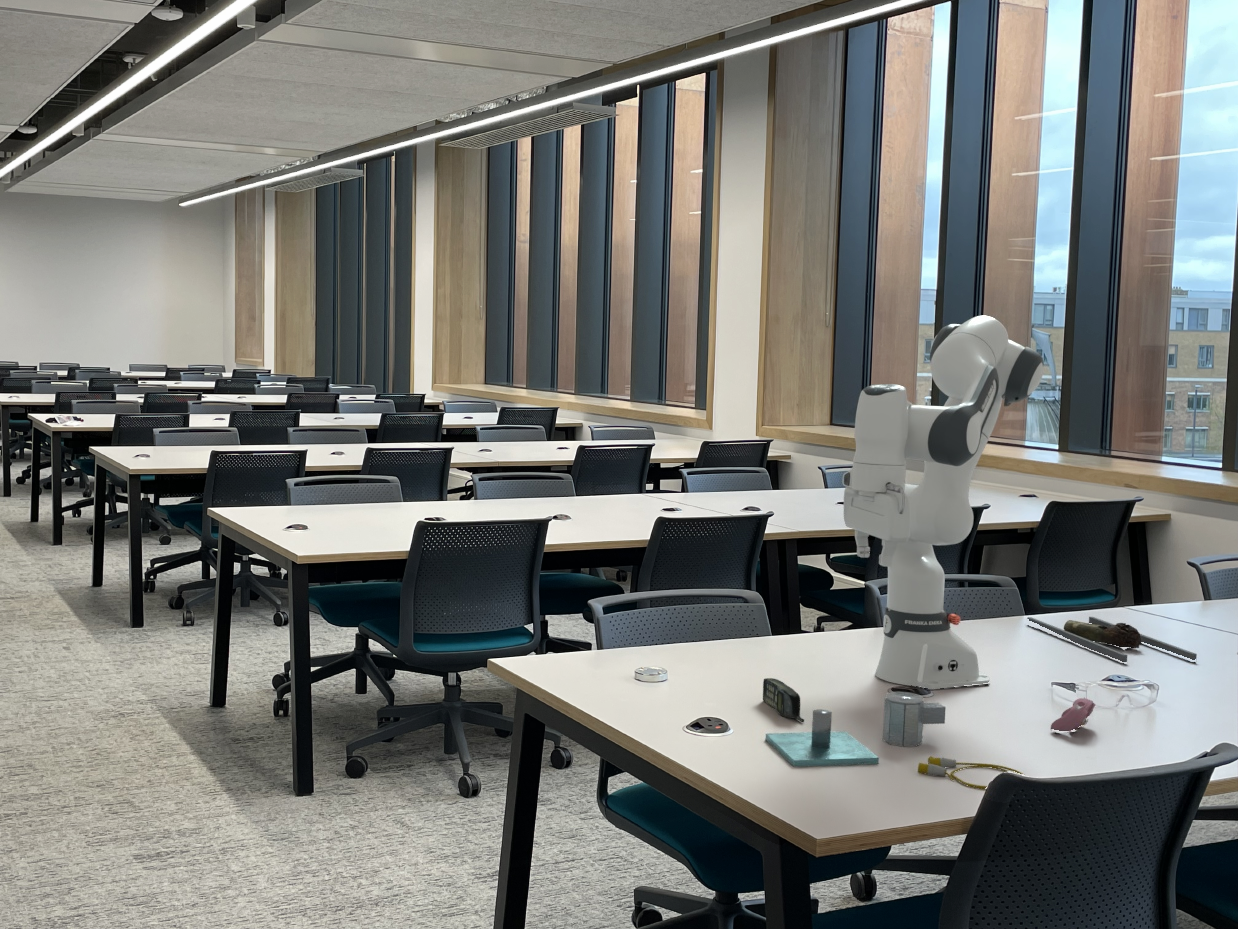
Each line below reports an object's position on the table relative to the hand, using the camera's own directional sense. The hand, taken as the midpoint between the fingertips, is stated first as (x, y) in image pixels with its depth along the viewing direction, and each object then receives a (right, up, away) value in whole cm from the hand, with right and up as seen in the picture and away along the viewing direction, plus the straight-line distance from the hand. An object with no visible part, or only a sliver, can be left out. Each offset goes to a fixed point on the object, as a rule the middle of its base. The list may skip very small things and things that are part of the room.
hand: (873, 561), depth 210 cm
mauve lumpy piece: (+36, -31, +7) cm, 48 cm away
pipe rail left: (+63, -25, +78) cm, 103 cm away
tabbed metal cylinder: (+6, -30, -2) cm, 31 cm away
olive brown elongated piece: (+70, -26, +79) cm, 109 cm away
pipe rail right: (+79, -26, +82) cm, 117 cm away
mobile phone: (-14, -28, +13) cm, 34 cm away
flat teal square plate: (-11, -30, -10) cm, 33 cm away
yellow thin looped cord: (+12, -32, -20) cm, 39 cm away
